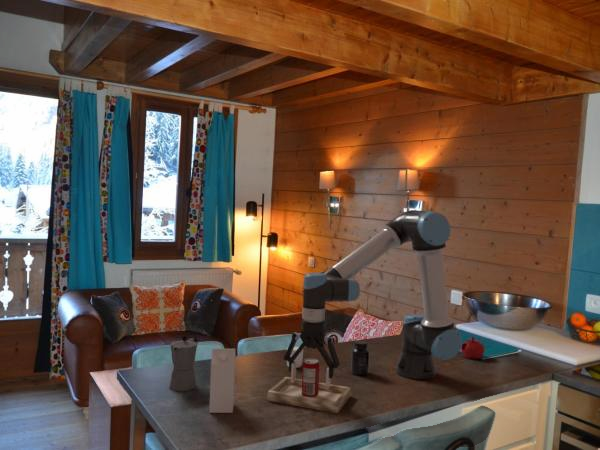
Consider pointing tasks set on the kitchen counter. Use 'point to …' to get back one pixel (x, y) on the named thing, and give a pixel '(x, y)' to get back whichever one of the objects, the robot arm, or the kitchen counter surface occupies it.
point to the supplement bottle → (360, 359)
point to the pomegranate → (472, 349)
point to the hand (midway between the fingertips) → (310, 384)
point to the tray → (323, 401)
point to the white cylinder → (299, 357)
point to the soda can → (310, 378)
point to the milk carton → (222, 380)
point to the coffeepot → (183, 364)
